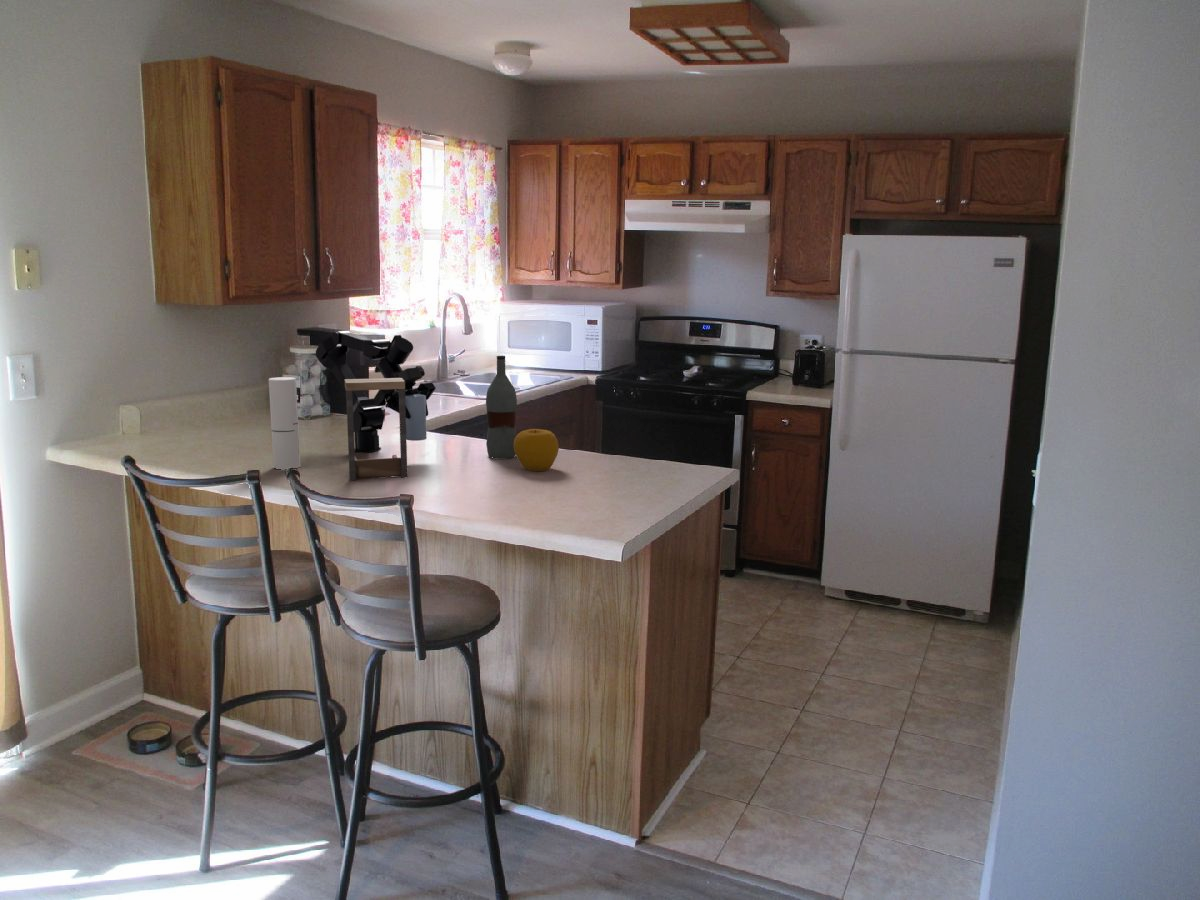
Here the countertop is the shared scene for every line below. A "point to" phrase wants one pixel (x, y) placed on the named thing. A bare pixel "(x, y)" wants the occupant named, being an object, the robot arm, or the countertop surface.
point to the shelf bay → (356, 467)
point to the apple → (536, 449)
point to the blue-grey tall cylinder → (416, 417)
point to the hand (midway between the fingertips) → (418, 416)
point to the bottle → (501, 414)
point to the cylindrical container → (284, 422)
